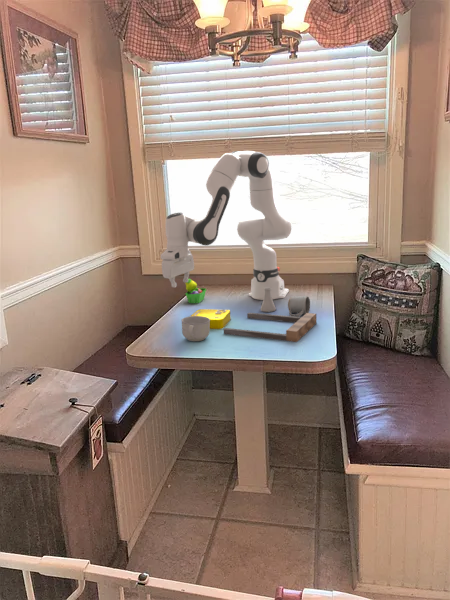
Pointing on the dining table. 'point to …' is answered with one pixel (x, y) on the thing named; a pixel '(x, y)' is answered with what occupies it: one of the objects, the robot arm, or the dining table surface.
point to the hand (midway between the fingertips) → (180, 284)
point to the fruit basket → (194, 292)
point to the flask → (268, 302)
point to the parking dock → (291, 334)
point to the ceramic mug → (299, 305)
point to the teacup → (195, 327)
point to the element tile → (215, 317)
